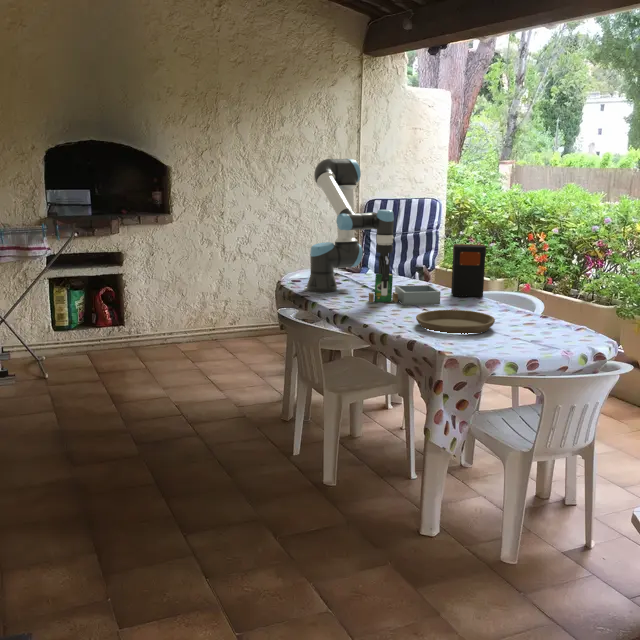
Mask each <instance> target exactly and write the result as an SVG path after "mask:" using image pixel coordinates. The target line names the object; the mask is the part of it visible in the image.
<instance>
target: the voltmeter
mask: <svg viewBox="0 0 640 640" xmlns="http://www.w3.org/2000/svg"><path fill="white" fill-rule="evenodd" d="M452 247H453V249H452V270H451V287H450V288H451V292H450V293H451V295H452V296H453V297H466V296H468V298H469V297H470V298H474V297H478V298H482V297H484V285H485V267H486V266H485V265H486V257H487V256H486V254H487V246H486V245H485V244H470V243H469V244H468V243H467V244H464V243H454V244H453V246H452Z"/></svg>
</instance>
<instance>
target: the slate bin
mask: <svg viewBox="0 0 640 640" xmlns="http://www.w3.org/2000/svg"><path fill="white" fill-rule="evenodd" d="M394 292H396V293H398V302H399V301H400V302H401V303H402V305H403V306H431V305H432V306H433V305H434V304H440V305H441V293H442V292H441V291H440V290H438V289H437V288H436V287H434V286H432V285H430V284H423V285H421V284H417V285H414V284H412V285H411V284H410V285H395V287H394ZM400 302H399V303H400ZM401 303H400V304H401ZM434 306H435V305H434Z"/></svg>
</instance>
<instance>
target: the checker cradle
mask: <svg viewBox="0 0 640 640" xmlns="http://www.w3.org/2000/svg"><path fill="white" fill-rule="evenodd" d="M374 296H375V293H373V292H368V303H370V302H374V303H375V301H374ZM392 302H393V303H398V302H399V301H398V293H396V292H395V291H394V292H393V291H392Z"/></svg>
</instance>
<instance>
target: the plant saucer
mask: <svg viewBox="0 0 640 640" xmlns="http://www.w3.org/2000/svg"><path fill="white" fill-rule="evenodd" d="M415 319H416V322H417V323H418V324H419V325H420V326H421V328H422V327H423V328H426V329H429V330H434V331H440V332H447V333H461V334H462V333H464V334H465V333H467V334H468V333H480V334H482V333H481V332H484V333H486V332H487V330H488V331H489V329H490V328H491V327H492V326H494V324H495V322H496V321H495V320H496V319H495V317H493V316H492V315H491V314H488V313H483V312H480V311H473V310H461V309H438V310H437V309H436V310H429V311H424V312H420V313H418V314H417V315H416V316H415ZM423 328H422V329H423ZM485 331H486V332H485Z"/></svg>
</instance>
